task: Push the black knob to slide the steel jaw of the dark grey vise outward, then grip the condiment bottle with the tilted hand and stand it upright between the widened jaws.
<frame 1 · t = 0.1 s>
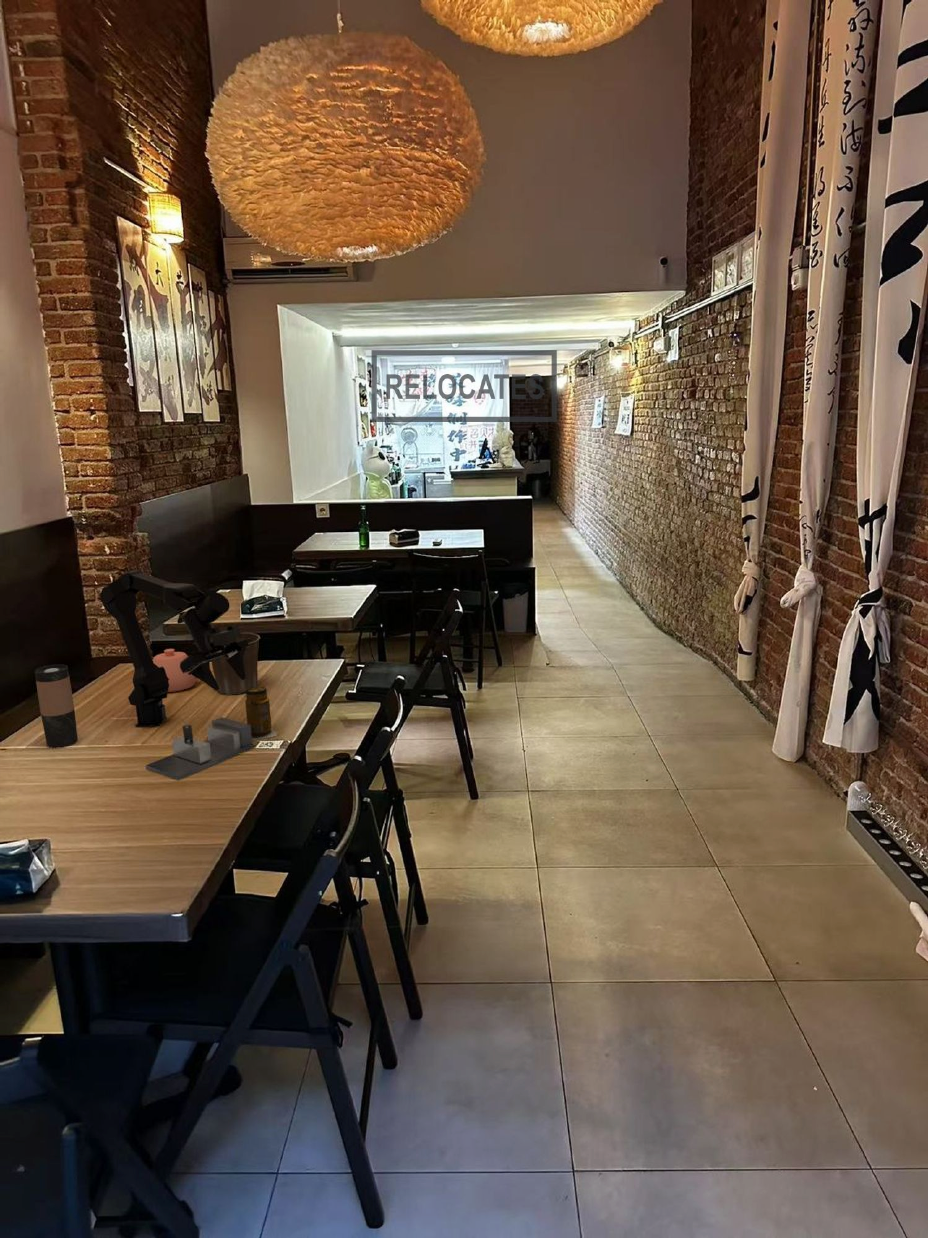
hand: (231, 684, 195), 15 cm above the table, tool tilted 30°, fingers open, 9 cm apart
condiment: (260, 734, 203), on the table
vise: (201, 758, 188), on the table
teapot: (171, 688, 244), on the table
plant pot: (237, 690, 240), on the table
sliding jaw: (190, 741, 185), point 5 cm above the table, slide at 0.0 cm
travel mug: (62, 743, 200), on the table
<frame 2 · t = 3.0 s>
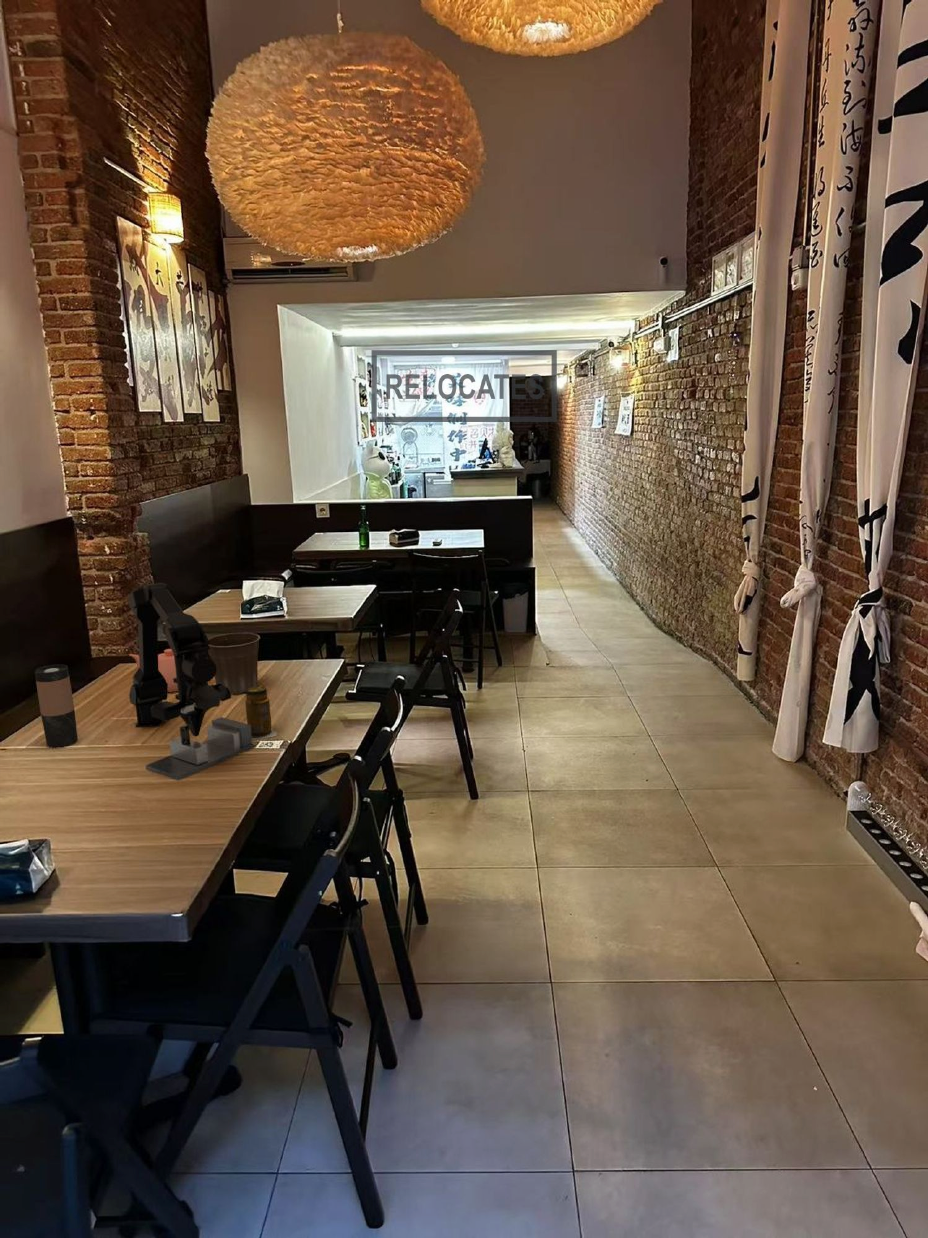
hand: (196, 735, 186), 6 cm above the table, tool pointing down, fingers closed
sliding jaw: (187, 742, 184), point 5 cm above the table, slide at 0.8 cm, touching gripper
everything else where it was.
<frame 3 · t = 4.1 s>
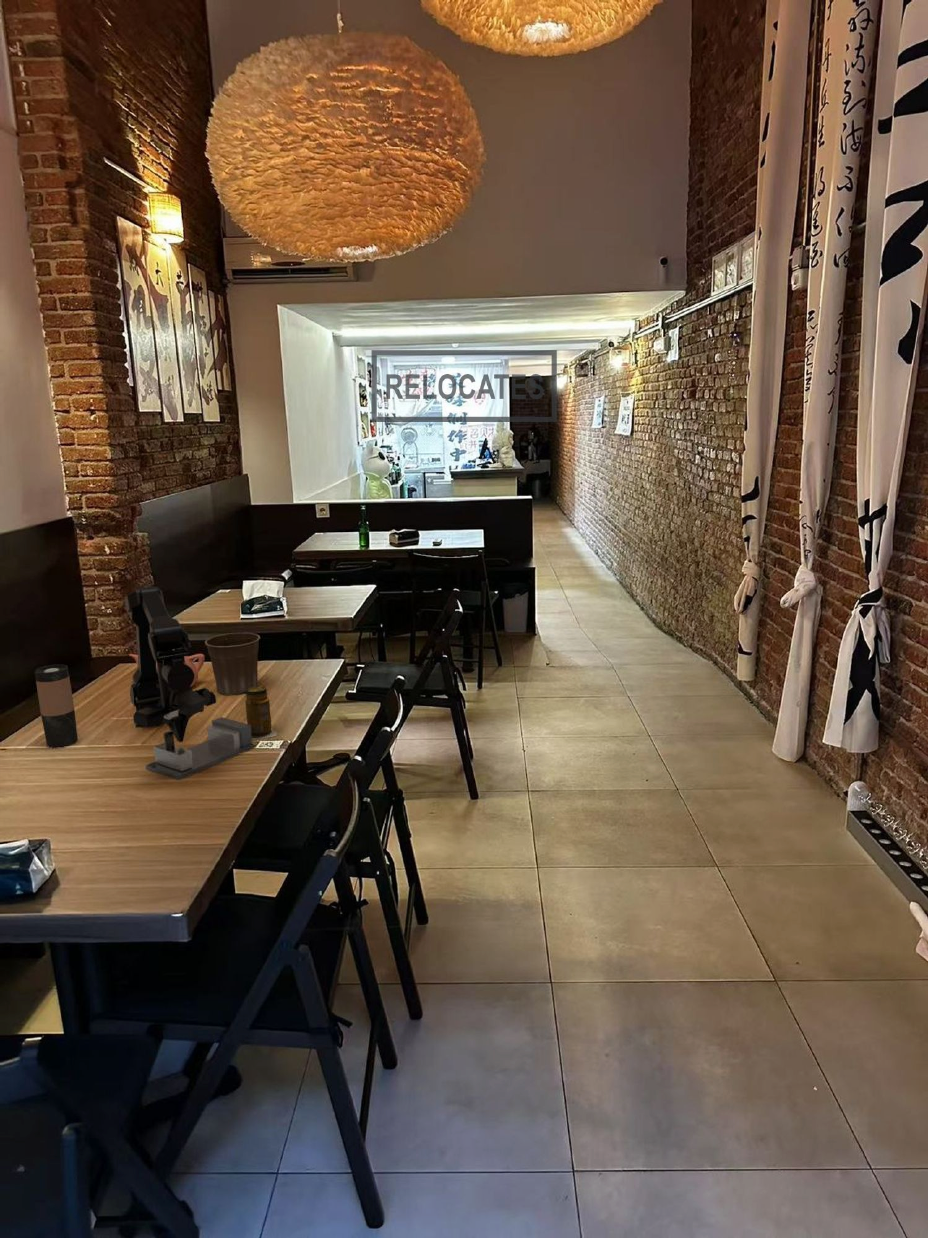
hand: (180, 741, 182), 6 cm above the table, tool pointing down, fingers closed
sliding jaw: (172, 748, 180), point 5 cm above the table, slide at 5.1 cm, touching gripper
everything else where it was.
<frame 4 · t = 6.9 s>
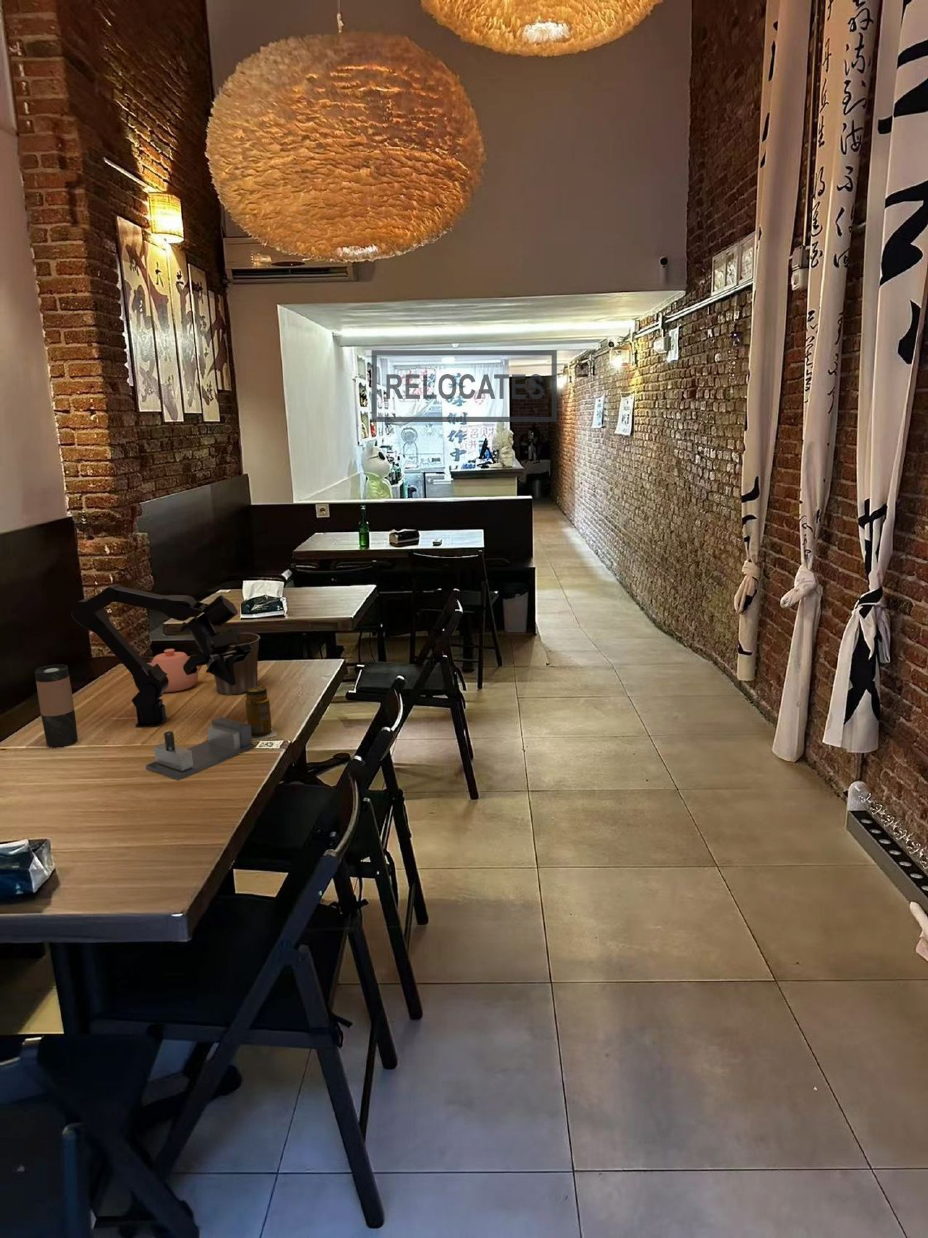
hand: (233, 684, 203), 12 cm above the table, tool tilted 40°, fingers closed
sliding jaw: (172, 748, 181), point 5 cm above the table, slide at 5.0 cm
everything else where it was.
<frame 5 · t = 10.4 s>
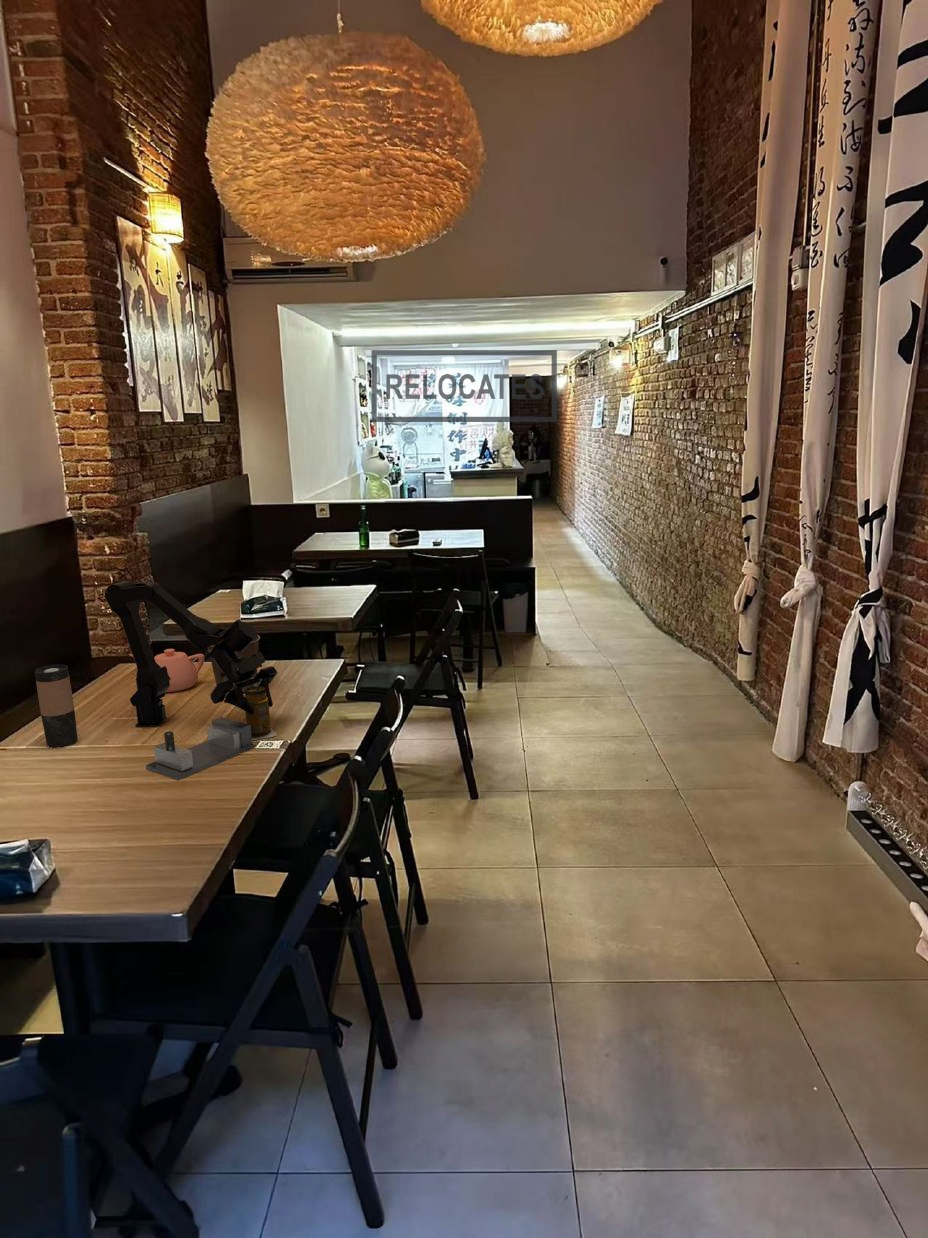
hand: (262, 709, 201), 7 cm above the table, tool tilted 45°, fingers closed on condiment, 6 cm apart
condiment: (259, 734, 203), on the table, touching gripper
everything else where it was.
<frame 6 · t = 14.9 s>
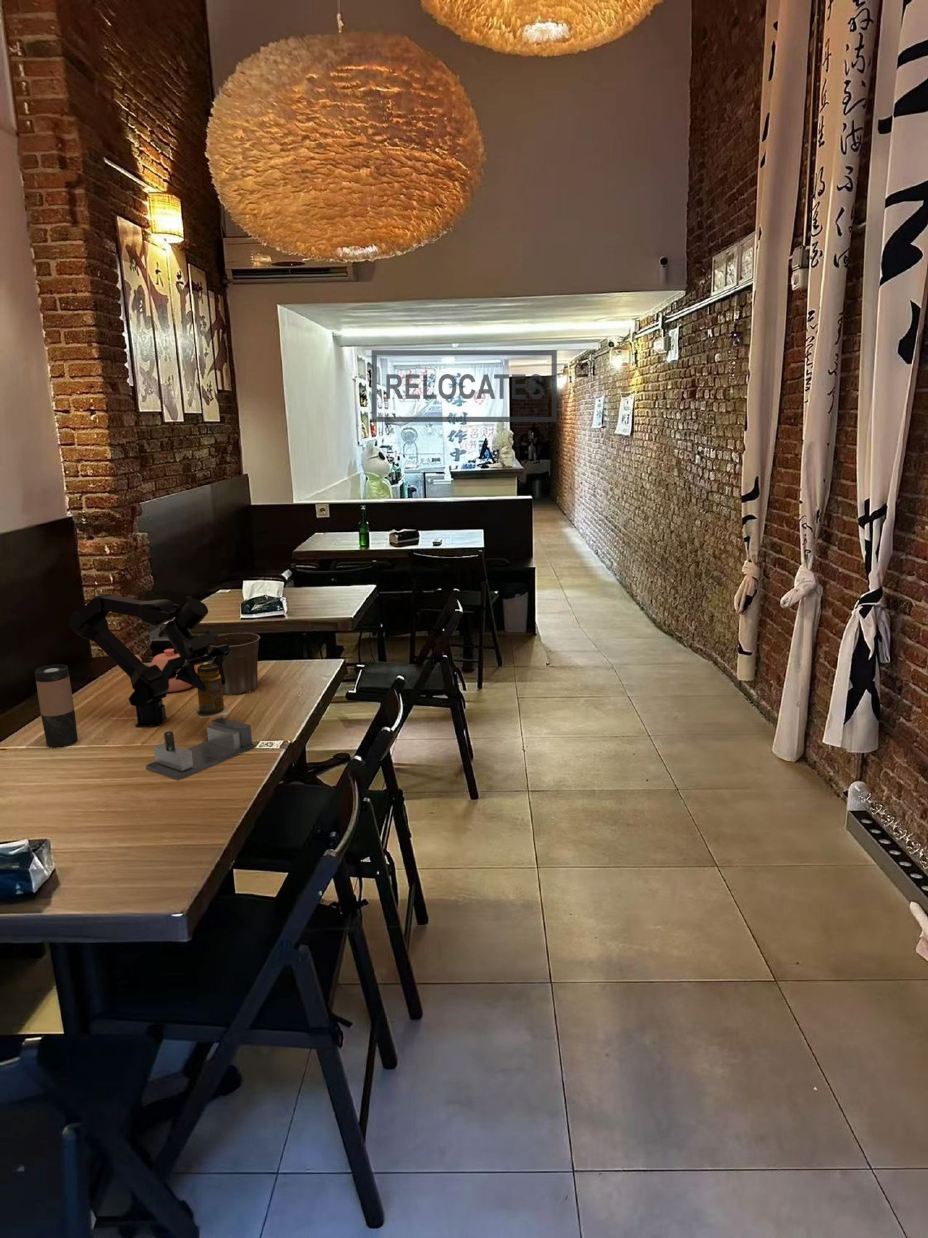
hand: (214, 687, 199), 13 cm above the table, tool tilted 45°, fingers closed on condiment, 6 cm apart
condiment: (212, 712, 201), point 6 cm above the table, touching gripper
everything else where it was.
when the fingers open (9 cm above the table, at t = 19.4 s): condiment drops 1 cm, resting on vise.
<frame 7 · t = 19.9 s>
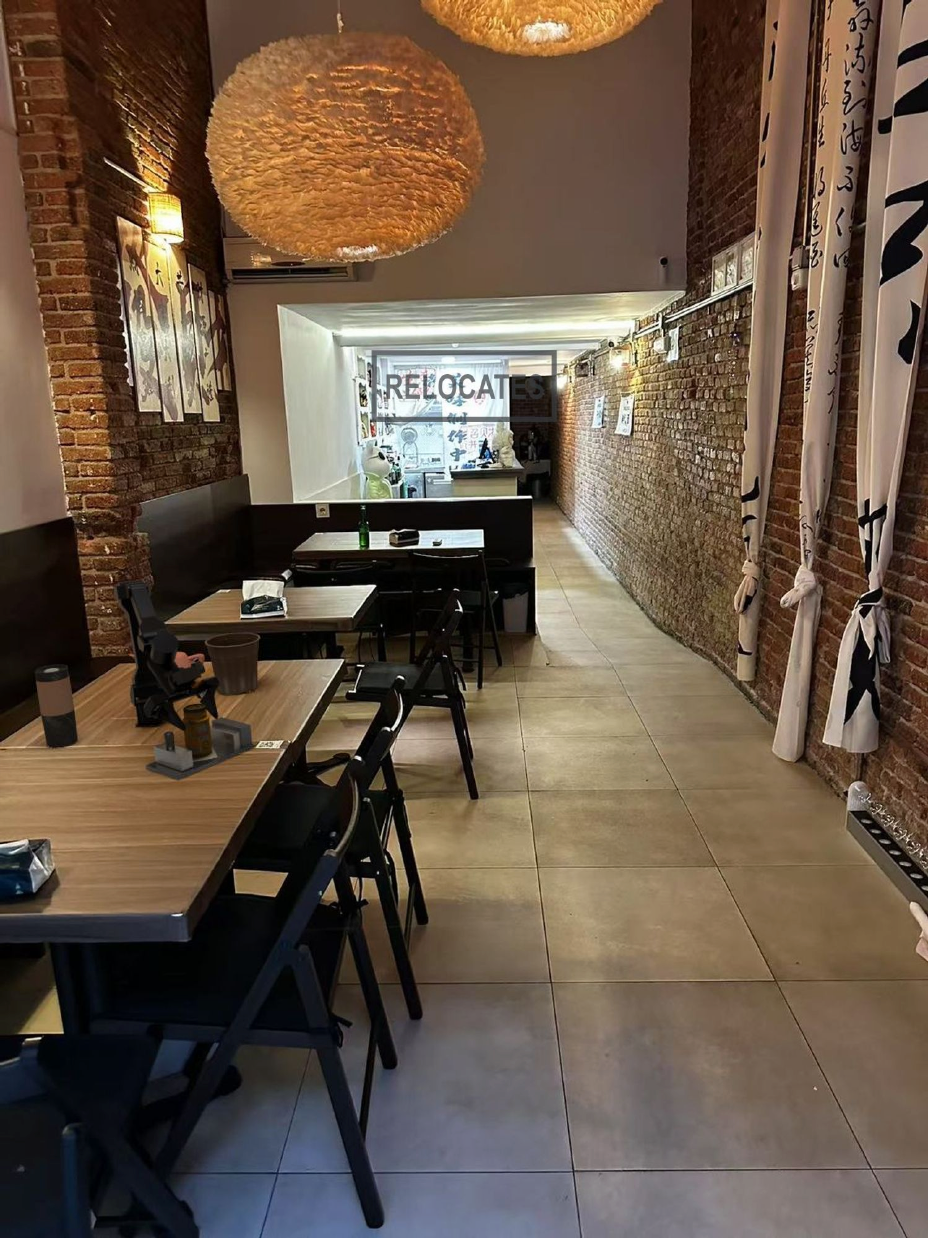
hand: (201, 724, 185), 9 cm above the table, tool tilted 45°, fingers open, 9 cm apart
condiment: (199, 755, 187), point 1 cm above the table, touching vise
everything else where it was.
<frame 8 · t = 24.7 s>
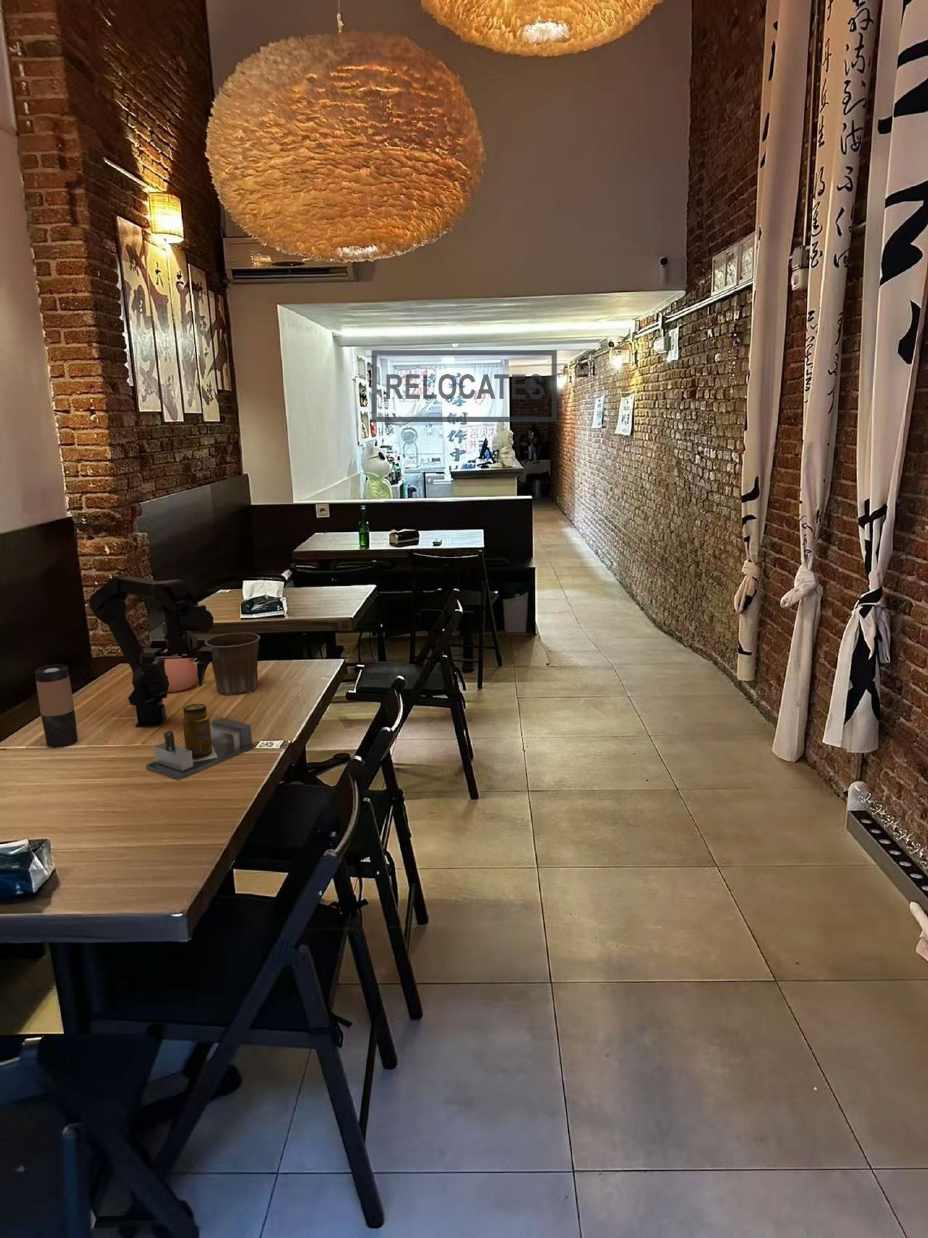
hand: (183, 686, 204), 12 cm above the table, tool pointing down, fingers open, 9 cm apart
nothing on the table moved.
at the end: sliding jaw slide at 5.0 cm; condiment 0.4 cm off-centre on the vise, point 0.8 cm above the vise's base; condiment tilted 0° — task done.
